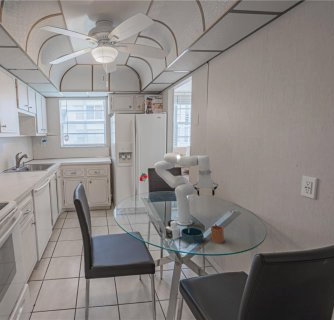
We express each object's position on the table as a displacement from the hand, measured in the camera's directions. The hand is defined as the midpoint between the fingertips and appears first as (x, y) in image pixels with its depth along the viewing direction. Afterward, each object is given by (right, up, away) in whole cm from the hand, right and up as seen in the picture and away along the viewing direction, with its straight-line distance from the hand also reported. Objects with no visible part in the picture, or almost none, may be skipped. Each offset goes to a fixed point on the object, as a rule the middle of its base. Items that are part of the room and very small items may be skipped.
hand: (205, 195), depth 156 cm
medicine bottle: (-25, -29, -4) cm, 39 cm away
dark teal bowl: (-14, -28, -10) cm, 33 cm away
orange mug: (+2, -27, -14) cm, 31 cm away
